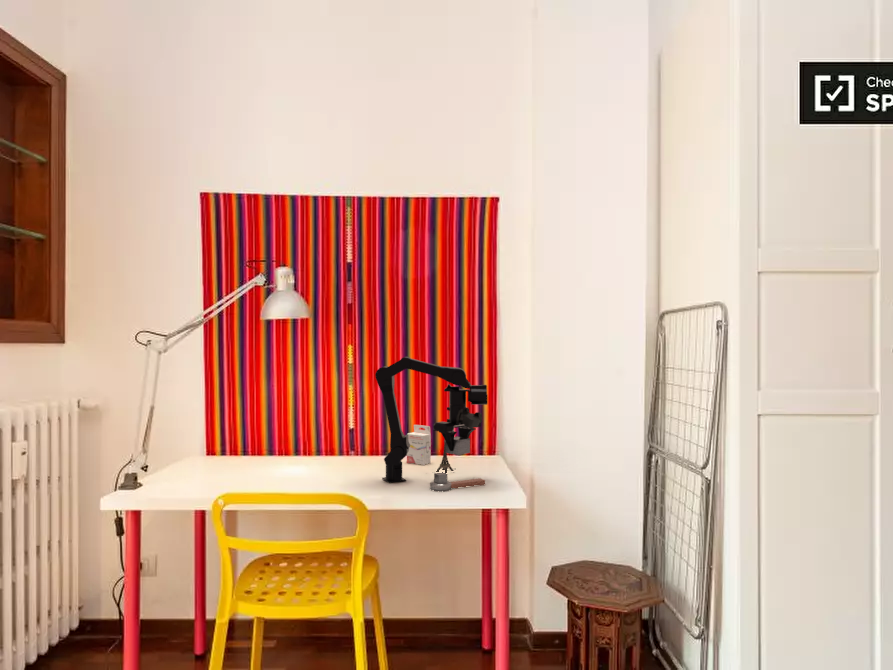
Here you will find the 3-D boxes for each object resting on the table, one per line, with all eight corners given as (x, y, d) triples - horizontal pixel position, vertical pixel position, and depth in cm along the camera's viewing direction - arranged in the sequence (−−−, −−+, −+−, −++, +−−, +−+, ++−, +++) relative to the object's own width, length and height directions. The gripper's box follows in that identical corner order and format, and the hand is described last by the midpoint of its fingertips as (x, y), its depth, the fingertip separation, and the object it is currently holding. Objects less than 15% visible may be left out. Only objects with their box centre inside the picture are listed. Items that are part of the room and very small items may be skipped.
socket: (445, 452, 215) (445, 438, 215) (457, 450, 220) (457, 436, 220) (458, 455, 211) (458, 440, 211) (470, 452, 216) (470, 438, 216)
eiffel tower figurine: (462, 469, 237) (462, 434, 237) (467, 475, 227) (467, 438, 227) (423, 471, 235) (423, 435, 235) (426, 476, 225) (426, 439, 225)
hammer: (435, 492, 200) (435, 476, 200) (426, 487, 206) (426, 472, 206) (488, 486, 209) (488, 471, 209) (477, 481, 215) (477, 467, 215)
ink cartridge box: (406, 463, 246) (406, 425, 247) (413, 461, 251) (413, 424, 251) (424, 465, 242) (424, 427, 242) (431, 463, 246) (431, 425, 246)
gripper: (457, 408, 203) (457, 456, 203) (493, 404, 217) (492, 449, 217) (432, 405, 211) (432, 452, 211) (468, 401, 225) (468, 445, 225)
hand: (457, 449), depth 216 cm, fingers closed on socket, 6 cm apart
